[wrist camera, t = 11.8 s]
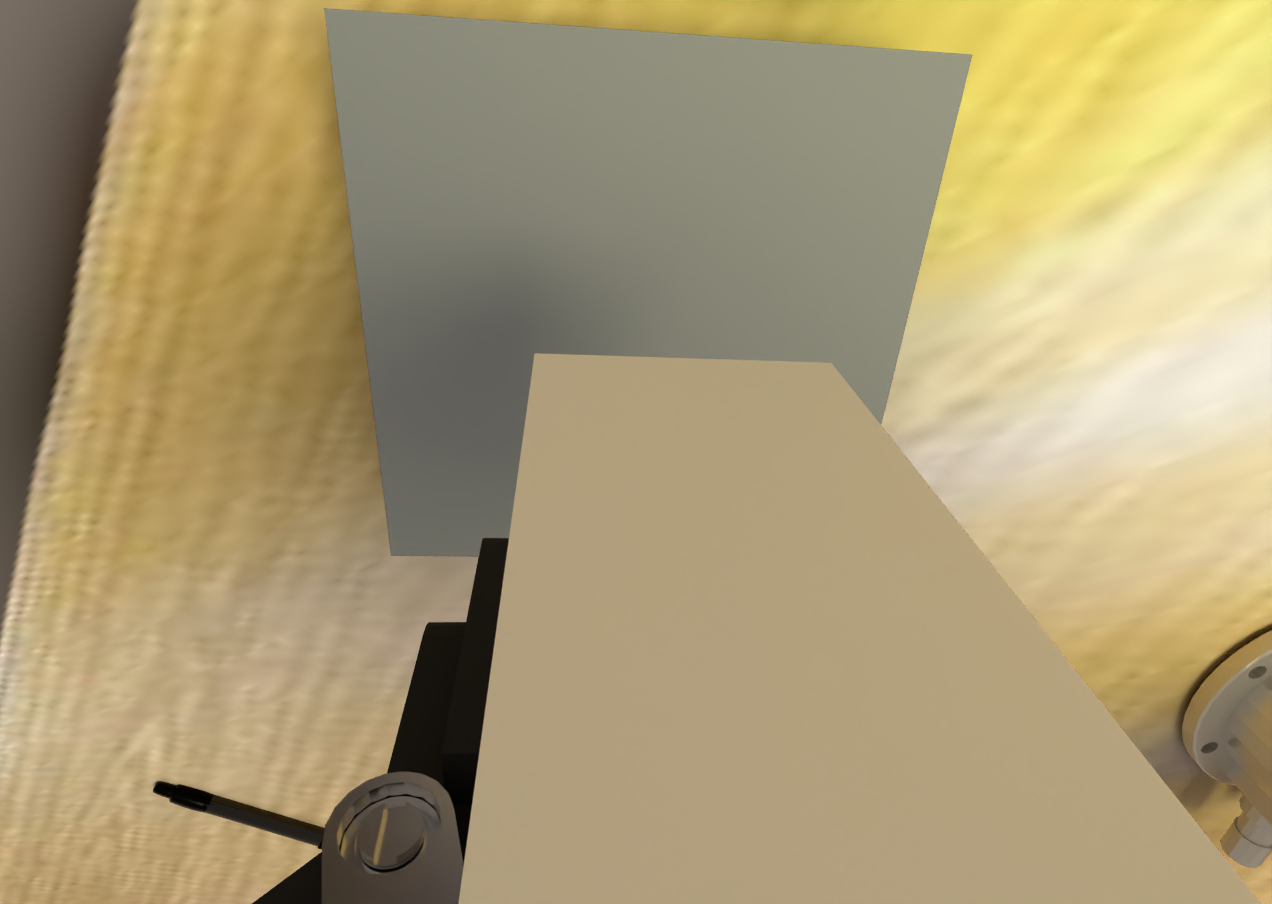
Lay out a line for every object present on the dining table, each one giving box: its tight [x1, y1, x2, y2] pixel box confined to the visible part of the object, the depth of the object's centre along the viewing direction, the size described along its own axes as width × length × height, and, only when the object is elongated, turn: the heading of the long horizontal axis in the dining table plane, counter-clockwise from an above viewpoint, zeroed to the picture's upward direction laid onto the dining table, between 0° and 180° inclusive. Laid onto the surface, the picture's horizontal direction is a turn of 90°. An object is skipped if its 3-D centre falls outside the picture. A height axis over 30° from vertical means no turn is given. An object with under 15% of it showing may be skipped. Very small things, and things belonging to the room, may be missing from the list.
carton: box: [458, 353, 1261, 904], centre depth 10 cm, size 5×7×10 cm
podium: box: [324, 8, 972, 557], centre depth 25 cm, size 17×17×4 cm
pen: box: [153, 782, 325, 849], centre depth 39 cm, size 14×2×1 cm, turn 57°
